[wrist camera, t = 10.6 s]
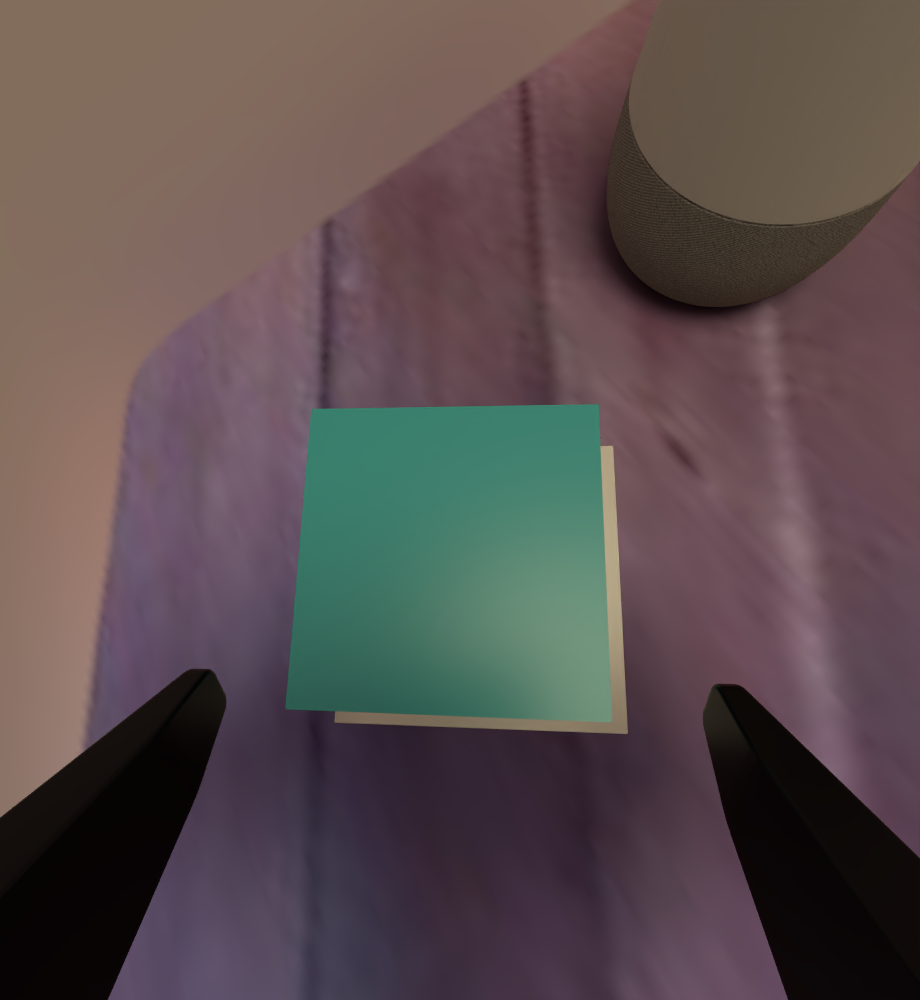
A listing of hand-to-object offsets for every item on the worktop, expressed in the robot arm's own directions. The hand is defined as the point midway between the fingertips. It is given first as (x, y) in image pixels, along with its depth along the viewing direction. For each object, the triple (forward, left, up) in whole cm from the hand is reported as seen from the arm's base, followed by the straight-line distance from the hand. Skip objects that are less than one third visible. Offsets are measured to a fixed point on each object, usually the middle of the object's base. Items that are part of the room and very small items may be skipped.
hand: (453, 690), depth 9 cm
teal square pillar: (+2, +2, -8) cm, 9 cm away
